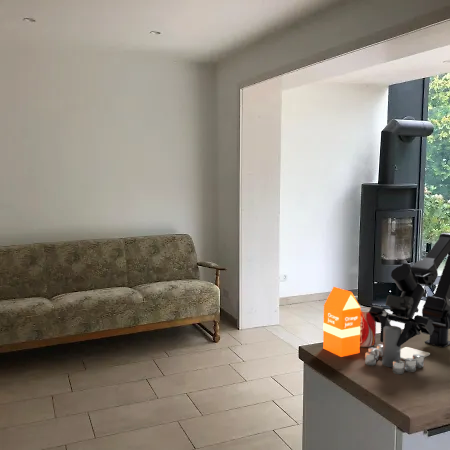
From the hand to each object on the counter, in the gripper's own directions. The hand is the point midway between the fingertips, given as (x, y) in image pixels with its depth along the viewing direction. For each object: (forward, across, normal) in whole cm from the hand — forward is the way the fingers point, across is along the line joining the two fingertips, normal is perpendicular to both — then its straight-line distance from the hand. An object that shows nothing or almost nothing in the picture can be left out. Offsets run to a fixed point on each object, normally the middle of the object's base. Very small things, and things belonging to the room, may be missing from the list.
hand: (389, 343), depth 151 cm
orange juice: (+4, -17, +5) cm, 18 cm away
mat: (-4, 0, +13) cm, 14 cm away
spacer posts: (+4, 0, +6) cm, 7 cm away
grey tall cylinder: (+4, 0, +6) cm, 7 cm away
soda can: (-2, -15, +12) cm, 19 cm away
